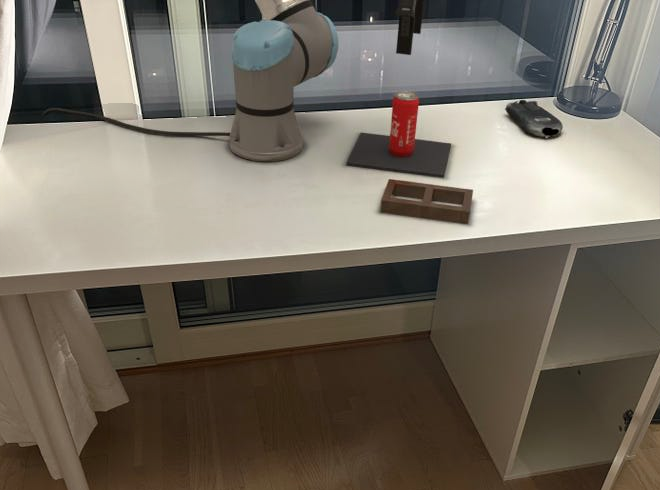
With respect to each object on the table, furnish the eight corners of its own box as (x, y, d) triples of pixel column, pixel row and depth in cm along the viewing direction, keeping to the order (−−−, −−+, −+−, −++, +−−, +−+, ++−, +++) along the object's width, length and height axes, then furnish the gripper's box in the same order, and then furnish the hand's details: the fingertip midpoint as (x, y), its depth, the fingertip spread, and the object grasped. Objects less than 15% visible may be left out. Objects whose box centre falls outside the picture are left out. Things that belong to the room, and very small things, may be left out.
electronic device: (499, 122, 168) (533, 138, 156) (504, 97, 165) (539, 112, 153) (532, 124, 171) (567, 140, 159) (538, 100, 169) (574, 114, 157)
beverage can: (411, 159, 145) (417, 101, 138) (386, 156, 146) (391, 98, 138) (414, 149, 149) (421, 92, 142) (390, 146, 150) (395, 89, 142)
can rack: (380, 212, 129) (381, 199, 127) (387, 190, 136) (388, 178, 134) (468, 224, 127) (470, 211, 125) (471, 201, 134) (473, 189, 132)
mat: (346, 165, 143) (346, 162, 143) (360, 134, 155) (360, 132, 155) (443, 177, 141) (444, 175, 140) (450, 146, 153) (451, 143, 152)
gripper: (435, -74, 110) (419, 65, 124) (450, -97, 129) (435, 27, 143) (388, -78, 111) (378, 60, 125) (410, -100, 130) (399, 22, 144)
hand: (408, 43), depth 134 cm, fingers open, 13 cm apart
